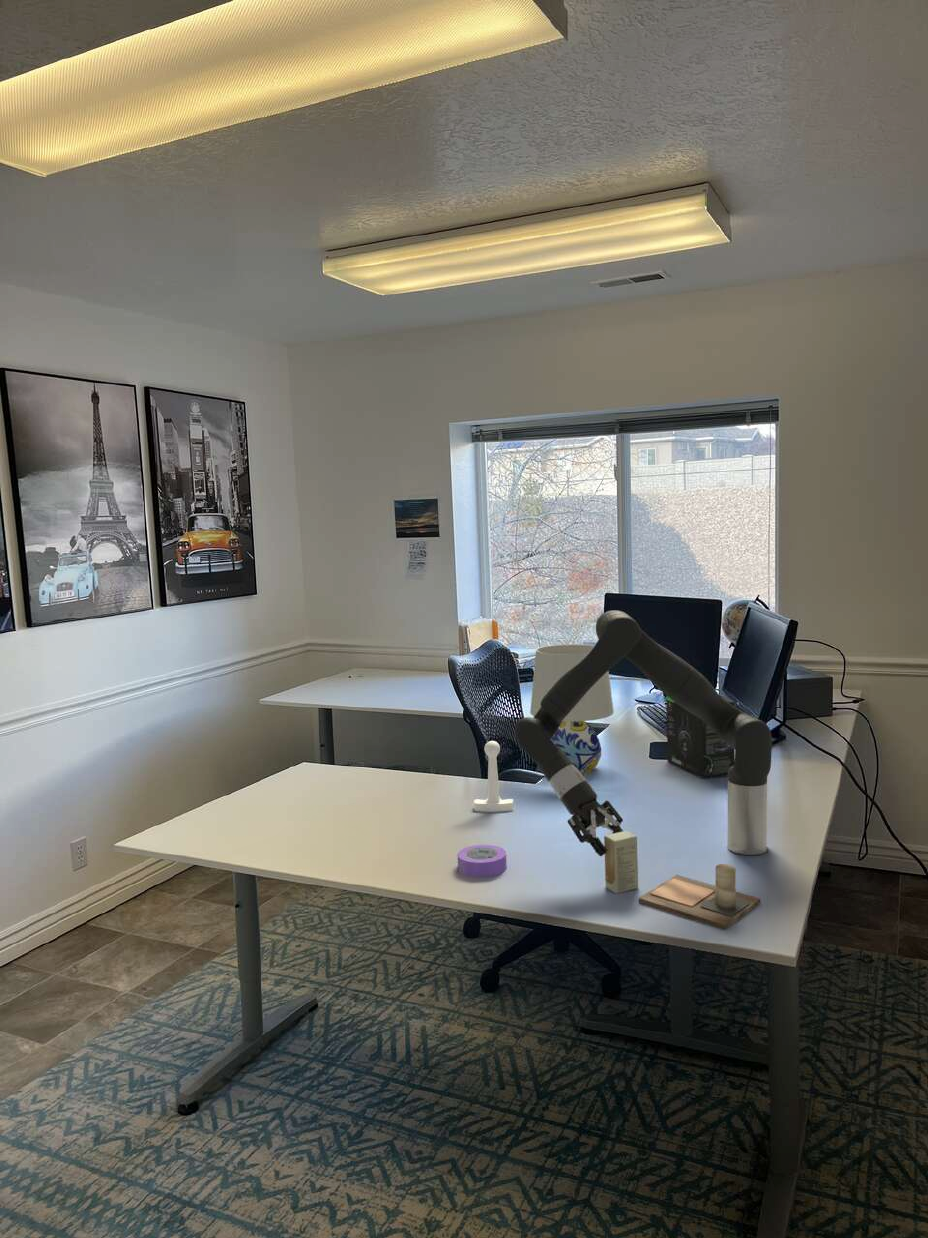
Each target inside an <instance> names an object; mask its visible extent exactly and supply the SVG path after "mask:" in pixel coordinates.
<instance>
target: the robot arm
mask: <svg viewBox="0 0 928 1238" xmlns="http://www.w3.org/2000/svg"><path fill="white" fill-rule="evenodd" d="M595 634H596V636H597V639H598V640H597V642H596V643H595V646H594V648H593V649H592V650H591V652H590V653H589V654H588V655H587V656H586V657H585V658H584V659H583V660H582V661H581V662H580V663H578V664H577V665H576V666H575V667H573V668H572V669H571V670H569V671H568V672H567V673H566V674H564V675H563V676H562V677H561V678H560V679H559V680H558V681H557V682H556V683H555V684H554V686H553V687H552V688H551V689H550V690H549V691H548V693H547V694H546V695H545V696H544V698H543V699H542V701H541V708H540V709H539V711H538V712H537V713H536V715H535V716H532V717H531V716H525V717H522V718H520V719H519V720H518V721H517V722H516V724H515V727H514V730H513V732H514V737H515V739H516V741H517V743H518V745H519V746H520V747H521V749H522V750H523V751H524V752H525V753H526V755H528V757H529V758H530V759H531V760H532V761H533V762H534V763H535V764H536V765H537V766H538V767H539V769H540V771H541V773H542V774H543V776H544V777H545V778H546V779H547V781H548V783H549V784H550V786H551V788H552V789H553V791H554V793H555V794H556V796H557V798H558V799H559V800H560V802H561V803H562V805H563V806H564V808H565V809H566V810H567V812H568V813H569V814H570V815H571V817H570V818H568V820H567V823H568V825H569V827H570V828H571V830H572V831H573V833H574V835H575V836H576V838H577V839H578V841H579V842H580V843H582V844H583V843H587V844H590V846H591V847H592V849H593V850H594V852H595V853H596V854H597V855H598V856H599V857H602V856H605V853H606V852H607V849H606V848H605V846H604V843H603V842H602V841H601V839H600V838H599V836H597V831H596V829H597V828H603V829H605V828H606V829H607V830H609V831H610V832H612V833H611V834H613V833H617V832H622V831H624V830H623V829H622V828H621V824H622V822H624V819H623V818H622V817H621V815H620V814H619V813H618V811H617V809H615V807H614V806H613V805H612V804H611V803H610V801H609V800H607V799H606V800H605V801H604V802H602V803H601V804H600V802H598V801H597V798H598V795H597V792H595V791H594V789H593V788H592V786H591V785H590V783H589V782H588V780H587V779H586V778H585V776H584V775H582V774H581V773H580V771H579V770H578V769H577V768H576V767H575V766H574V765H573V763H572V762H571V760H570V759H569V758H568V756H567V755H566V754H565V752H564V751H563V750H562V749H561V748H559V747H558V746H556V745H555V744H554V743H553V741H552V740H551V739H552V737H553V736H554V734H555V733H556V731H557V730H558V728H559V726H560V725H561V723H562V721H563V719H564V718H565V717H566V716H567V715H568V714H569V713H570V711H571V710H572V709H573V708H574V707H575V706H576V704H577V703H578V702H579V701H580V700H581V699H582V697H583V696H584V695H585V694H586V693H587V692H588V691H589V689H590V688H591V687H592V686H593V685H594V684H595V683H596V682H597V681H598V680H599V679H600V678H601V677H602V676H603V675H604V674H605V673H606V672H607V671H610V670H611V669H612V668H613V667H614V666H615V665H617V664H618V663H619V662H620V661H621V660H623V658H625V659H627V660H628V661H630V662H631V663H632V664H634V665H635V667H637V668H638V669H639V670H640V671H641V672H642V674H644V676H645V677H646V678H647V679H648V680H649V681H650V682H651V683H652V684H653V685H654V686H656V688H657V689H659V691H660V692H662V693H663V694H664V695H665V696H666V695H667V696H668V697H669V698H670V699H672V700H673V701H674V702H675V703H677V704H678V705H680V706H681V707H682V708H684V709H685V710H687V711H688V712H690V713H692V714H693V715H695V716H697V717H698V718H700V719H702V720H703V721H704V722H706V723H707V724H708V725H709V726H710V727H711V728H712V729H713V730H714V731H715V732H716V733H717V734H718V735H719V736H720V737H721V738H722V739H723V740H724V741H725V742H726V743H727V744H728V745H729V746H730V747H731V748H733V749H734V752H735V763H734V766H732V767H730V768H729V770H728V775H727V849H728V850H729V851H731V852H733V853H735V854H740V855H743V856H745V855H746V856H757V855H761V854H764V853H766V852H767V848H768V847H767V843H768V842H767V841H768V840H767V839H768V776H769V773H770V772H771V767H772V751H773V737H772V732H771V729H770V726H768V724H766V722H765V721H763V720H761V719H758V718H756V717H754V716H753V715H749V714H748V713H746V712H744V711H742V710H740V709H739V708H737V707H735V705H734V706H732V705H731V704H730V703H728V702H727V701H725V700H724V699H723V698H724V697H723V698H722V695H720V693H718V691H717V690H716V689H715V687H714V686H713V684H712V683H711V682H710V681H709V680H708V679H707V678H706V677H705V676H704V675H703V674H702V673H701V672H699V670H697V669H696V668H694V666H692V665H691V664H689V663H688V662H687V661H686V660H684V659H682V658H681V657H680V656H678V655H677V654H675V653H673V652H672V651H670V650H669V649H667V648H666V647H664V646H663V645H661V644H659V643H657V642H656V641H655V640H654V639H653V638H652V637H650V636H648V635H647V633H645V632H644V631H643V630H642V629H641V627H640V625H639V624H638V622H637V621H636V620H635V619H634V618H633V617H631V616H630V615H629V614H627V613H626V612H624V611H621V610H614V609H613V610H608V611H606V612H603V613H602V614H601V615H600V616H598V618H597V620H596V624H595ZM613 816H614V817H615V818H614V817H613Z"/></svg>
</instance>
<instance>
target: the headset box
mask: <svg viewBox="0 0 928 1238" xmlns="http://www.w3.org/2000/svg"><path fill="white" fill-rule="evenodd" d="M665 696H666V738H667V739H666V740H667V741H666V742H667V743H666V747H667V748H666V749H667V750H666V751H667V753H666V754H667V763H669V764H670V765H673V766H675V767H677V768H678V769H681V770H683V771H685V772H688V773H690V774H692V775H695V776H697V777H698V778H702V779H710V778H719V777H725V776H727V777H728V770H729V768H730V767H732V766H734V763H735V749H733V748H731V747H730V746H729V745H728V744H727V743H726V742H725V741H724V740H723V739H722V738H721V737H720V736H719V735H718V734H717V733H716V732H715V731H714V730H713V729H712V728H711V727H710V726H709V725H708V724H707V723H706V722H704V721H703V720H702V719H700V718H698V717H697V716H695V715H693V714H692V713H690V712H688V711H687V710H685V709H684V708H682V707H681V706H680V705H678V704H677V703H675V702H674V701H673V700H672V699H670V698H669V697H668V696H667V695H665ZM721 697H722V696H721ZM722 698H723V699H724V700H725V701H727V702H728V703H730V704H731V705H732V706H734V707H735V701H734V700H733V699H730V698H729V699H728V698H726V697H724V696H723V697H722Z"/></svg>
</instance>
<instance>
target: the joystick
mask: <svg viewBox="0 0 928 1238" xmlns="http://www.w3.org/2000/svg"><path fill="white" fill-rule="evenodd" d="M483 749H484V753H485V754H486V755H487V757H488V758H487V759H488V763H487V764H488V766H487V767H488V768H487V769H488V770H487V797H486V799H478V798H477V799H474V800H473V805H474V806H473V808H474V811H475V812H484V813H485V812H487V813H490V812H492V813H494V812H495V813H496V812H497V813H498V812H499V813H500V812H509V811H514V799H513V798H506V799H502V798H501V796H500V788H499V787H500V786H499V785H500V784H499V775H498V774H499V773H498V763H497V761H498V760H497V757H498V755H499V754H500V751H501V747H500V744H499V743H498V742H497V741H495V740H490V741H488V742H486V743H485V745H484V748H483Z"/></svg>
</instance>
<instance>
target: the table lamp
mask: <svg viewBox="0 0 928 1238" xmlns="http://www.w3.org/2000/svg"><path fill="white" fill-rule="evenodd" d="M595 645H596V644H595ZM595 645H593V644H576V643H572V644H568V643H567V644H555V645H554V644H552V645H551V644H550V645H544V646H540V647H537V648H536V649H535V655H534V656H535V658H534V668H533V680H532V688H531V689H532V690H531V698H530V699H531V701H530V712H529V714H530V715H531V716H532V717H534V716H535V715H536V713H537V712H538V711H539V709H540V708H541V701H542V699H543V698H544V696H545V695H546V694H547V693H548V691H549V690H550V689H551V688H552V687H553V686H554V684H555V683H556V682H557V681H558V680H559V679H560V678H561V677H562V676H563V675H564V674H566V673H567V672H568V671H569V670H571V669H572V668H573V667H575V666H576V665H577V664H578V663H580V662H581V661H582V660H583V659H584V658H585V657H586V656H587V655H588V654H589V653H590V652H591V650H592V649H593V648H594V646H595ZM609 671H610V670H609ZM609 671H607V672H606V673H605V674H604V675H603V676H602V677H601V678H600V679H599V680H598V681H597V682H596V683H595V684H594V685H593V686H592V687H591V688H590V689H589V691H588V692H587V693H586V694H585V695H584V696H583V697H582V699H581V700H580V701H579V702H578V703H577V704H576V706H575V707H574V708H573V709H572V710H571V711H570V713H569V714H568V715H567V716H566V717H565V718H564V719H563V721H562V723H561V725H560V726H559V728H558V730H557V731H556V733H555V734H554V736H553V737H552V739H551V740H552V741H553V743H554V744H555V745H556V746H558V747H559V748H561V749H562V750H563V751H564V752H565V754H566V755H567V756H568V758H569V759H570V760H571V762H572V763H573V765H574V766H575V767H576V768H577V769H578V770H579V771H580V773H581V774H582V775H583V776H584V775H587V774H590V773H592V772H593V771H594V770H595V769H596V767H597V765H598V764H599V762H600V759H601V757H602V746H601V742H600V739H599V737H598V735H597V733H596V732H595V730H594V728H592V726H591V725H590V724H589V723H587V722H588V721H596V720H601V719H606V718H609V717H611V716H612V715H613V714H614V713H615V711H614V704H613V697H612V688H611V687H612V686H611V679H610V673H609Z"/></svg>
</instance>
